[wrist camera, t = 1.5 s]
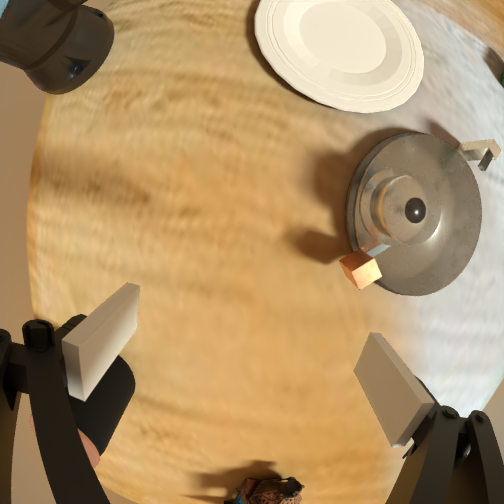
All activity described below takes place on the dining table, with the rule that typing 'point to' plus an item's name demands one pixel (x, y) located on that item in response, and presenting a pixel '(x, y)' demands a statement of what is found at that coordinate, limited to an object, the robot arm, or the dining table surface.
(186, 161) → the dining table surface
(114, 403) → the coffee jar
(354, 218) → the turntable
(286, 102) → the dining table surface
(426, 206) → the cover
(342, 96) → the plate
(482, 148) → the turntable base
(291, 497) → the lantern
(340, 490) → the dining table surface
